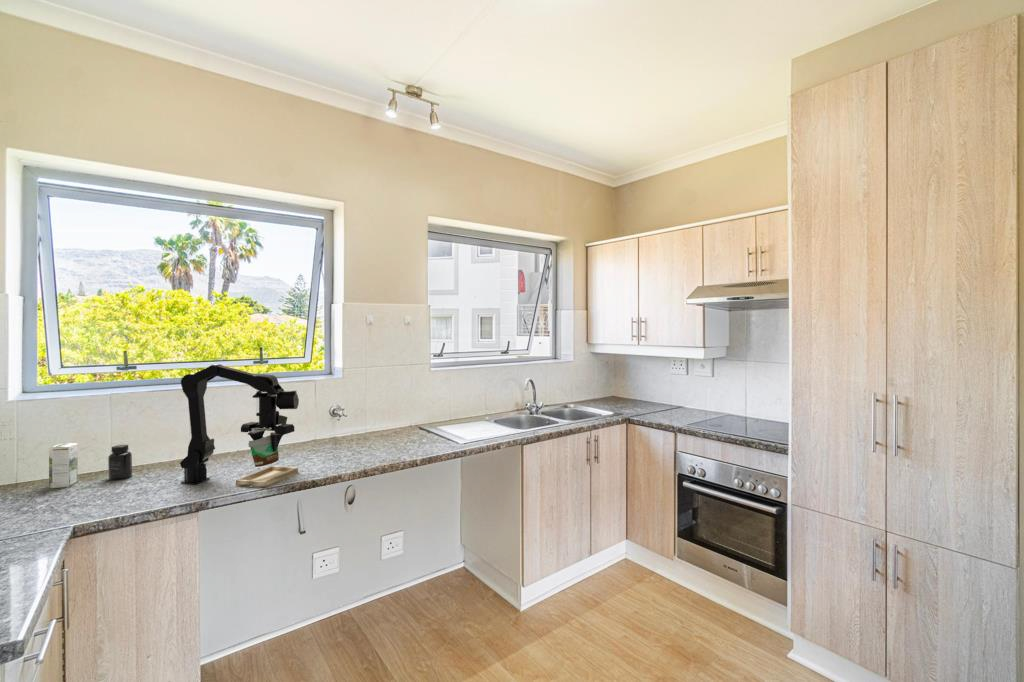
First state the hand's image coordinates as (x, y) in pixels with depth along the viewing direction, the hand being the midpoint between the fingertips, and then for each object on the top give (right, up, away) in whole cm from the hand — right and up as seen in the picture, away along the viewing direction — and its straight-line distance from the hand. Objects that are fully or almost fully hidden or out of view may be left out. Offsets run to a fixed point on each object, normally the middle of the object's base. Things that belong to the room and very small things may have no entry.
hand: (267, 451), depth 174 cm
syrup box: (-69, -11, -7) cm, 70 cm away
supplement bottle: (-56, -11, +1) cm, 57 cm away
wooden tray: (0, -11, 0) cm, 11 cm away
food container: (+1, -4, 0) cm, 5 cm away
